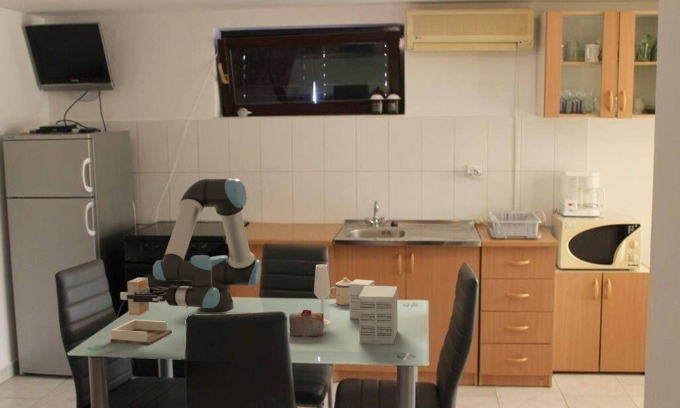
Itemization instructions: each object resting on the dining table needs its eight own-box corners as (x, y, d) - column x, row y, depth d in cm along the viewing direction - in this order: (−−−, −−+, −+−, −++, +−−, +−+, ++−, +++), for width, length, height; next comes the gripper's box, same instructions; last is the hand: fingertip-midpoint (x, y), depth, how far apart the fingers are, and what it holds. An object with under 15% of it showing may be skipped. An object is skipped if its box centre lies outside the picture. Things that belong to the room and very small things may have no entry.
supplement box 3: (364, 330, 273) (364, 285, 271) (398, 331, 271) (397, 285, 269) (358, 343, 256) (357, 295, 254) (394, 344, 254) (393, 296, 252)
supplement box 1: (140, 315, 263) (138, 281, 262) (128, 315, 264) (126, 281, 263) (150, 310, 271) (148, 277, 270) (138, 309, 272) (137, 277, 271)
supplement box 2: (355, 313, 298) (355, 279, 297) (375, 314, 295) (375, 280, 294) (348, 318, 290) (348, 283, 288) (369, 320, 287) (368, 284, 285)
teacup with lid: (356, 300, 320) (356, 275, 318) (354, 305, 311) (353, 280, 310) (330, 300, 321) (330, 275, 320) (327, 305, 312) (327, 279, 311)
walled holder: (171, 332, 274) (171, 321, 274) (149, 345, 259) (149, 333, 258) (134, 329, 279) (134, 318, 278) (110, 341, 264) (109, 330, 263)
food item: (324, 331, 272) (324, 307, 271) (323, 337, 264) (323, 312, 263) (290, 331, 273) (289, 307, 272) (288, 338, 265) (287, 313, 264)
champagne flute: (325, 326, 280) (324, 267, 277) (311, 323, 283) (310, 266, 280) (333, 321, 285) (332, 264, 283) (319, 319, 289) (318, 263, 286)
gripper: (165, 312, 252) (111, 309, 259) (193, 299, 272) (143, 296, 279) (164, 292, 251) (110, 289, 258) (193, 280, 272) (142, 277, 278)
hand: (128, 292), depth 268 cm, fingers closed on supplement box 1, 8 cm apart
